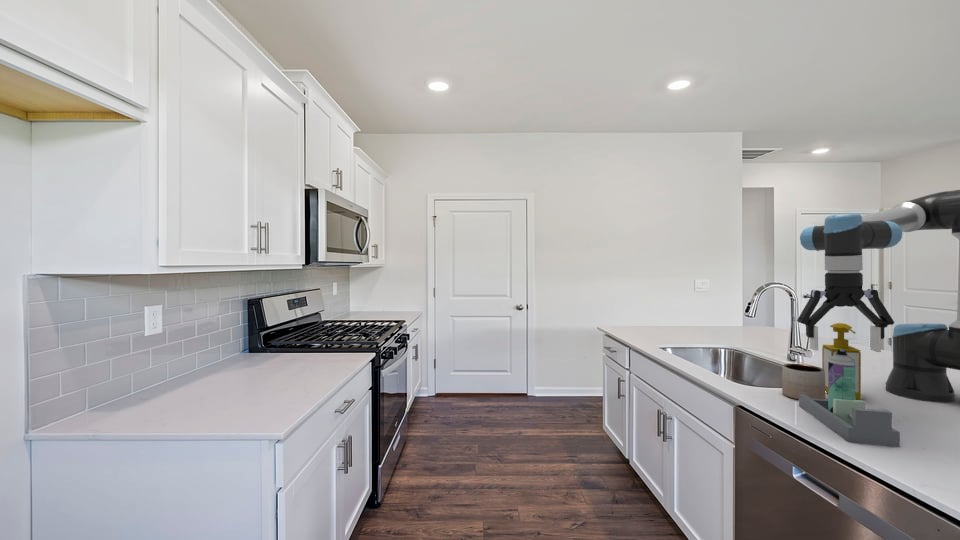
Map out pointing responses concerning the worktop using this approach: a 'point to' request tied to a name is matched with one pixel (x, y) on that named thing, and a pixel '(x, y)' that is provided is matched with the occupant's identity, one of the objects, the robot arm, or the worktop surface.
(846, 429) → the lane
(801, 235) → the robot arm
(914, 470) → the worktop surface
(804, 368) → the planter
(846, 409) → the pusher
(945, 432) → the worktop surface
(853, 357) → the soap bottle
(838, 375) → the spray can
